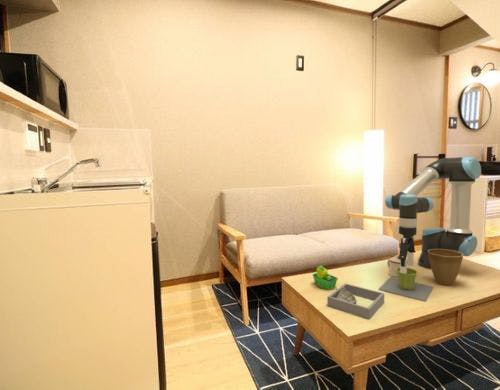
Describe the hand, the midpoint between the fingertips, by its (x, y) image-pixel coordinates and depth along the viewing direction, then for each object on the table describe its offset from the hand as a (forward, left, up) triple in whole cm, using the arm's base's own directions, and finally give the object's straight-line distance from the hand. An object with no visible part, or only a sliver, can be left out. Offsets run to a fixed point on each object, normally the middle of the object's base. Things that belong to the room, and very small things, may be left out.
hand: (406, 268), depth 138 cm
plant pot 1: (0, 0, -10) cm, 10 cm away
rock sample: (+35, -17, -10) cm, 40 cm away
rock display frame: (+31, -13, -10) cm, 35 cm away
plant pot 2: (-20, +13, -10) cm, 26 cm away
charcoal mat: (0, 0, -10) cm, 10 cm away
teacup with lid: (-17, -9, -10) cm, 22 cm away
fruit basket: (+22, -33, -10) cm, 41 cm away
